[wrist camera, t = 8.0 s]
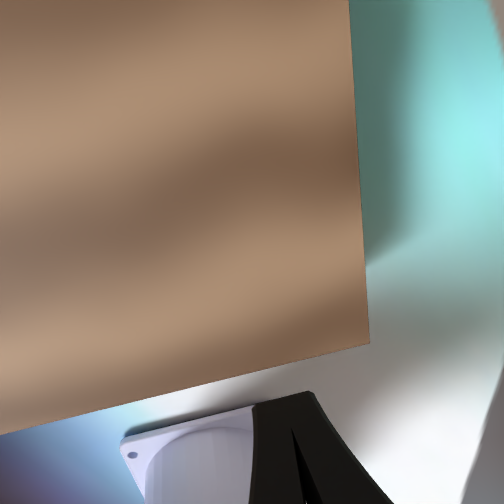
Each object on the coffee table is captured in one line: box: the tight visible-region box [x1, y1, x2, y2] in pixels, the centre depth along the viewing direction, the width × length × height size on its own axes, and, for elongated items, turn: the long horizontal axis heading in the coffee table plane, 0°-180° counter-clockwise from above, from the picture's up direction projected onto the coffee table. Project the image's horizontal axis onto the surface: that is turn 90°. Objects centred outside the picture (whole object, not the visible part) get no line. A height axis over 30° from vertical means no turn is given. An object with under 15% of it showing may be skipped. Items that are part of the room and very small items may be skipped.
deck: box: [0, 0, 370, 435], centre depth 16 cm, size 14×16×4 cm
